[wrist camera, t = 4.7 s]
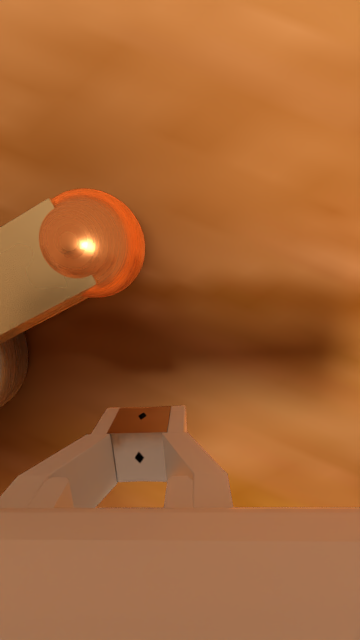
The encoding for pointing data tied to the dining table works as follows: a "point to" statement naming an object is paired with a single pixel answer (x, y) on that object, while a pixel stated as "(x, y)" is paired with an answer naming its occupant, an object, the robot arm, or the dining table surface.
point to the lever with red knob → (60, 267)
